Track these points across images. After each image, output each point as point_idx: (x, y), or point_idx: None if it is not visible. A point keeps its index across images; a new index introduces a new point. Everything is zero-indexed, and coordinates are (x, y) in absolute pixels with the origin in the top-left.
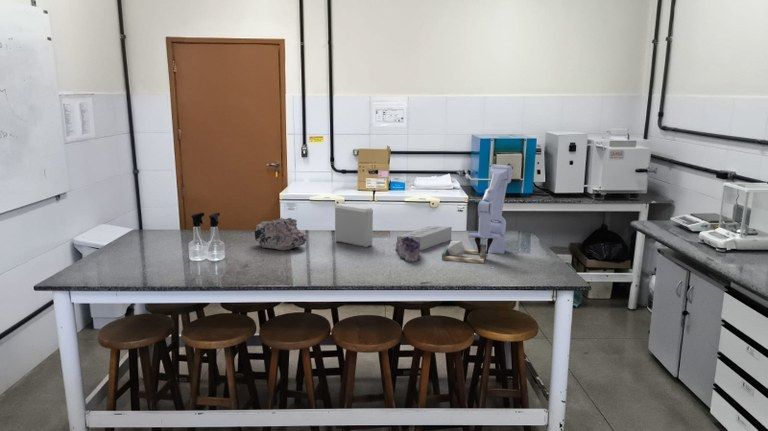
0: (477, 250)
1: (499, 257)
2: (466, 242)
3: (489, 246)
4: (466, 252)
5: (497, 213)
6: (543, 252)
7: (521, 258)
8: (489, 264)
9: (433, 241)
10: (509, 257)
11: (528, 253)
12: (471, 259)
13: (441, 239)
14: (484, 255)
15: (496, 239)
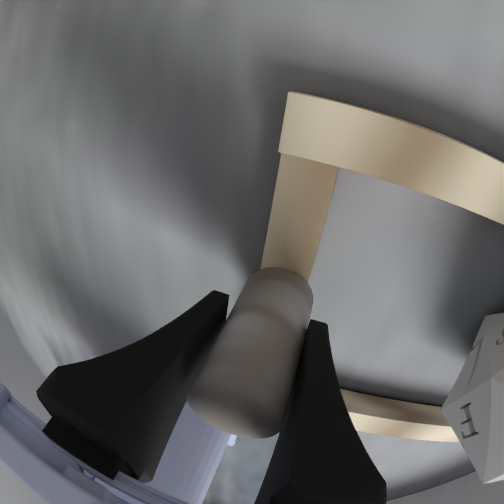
0: None
1: (142, 308)
2: None
3: (137, 342)
4: (393, 406)
5: None
6: (23, 339)
7: (41, 276)
8: (222, 78)
9: (495, 482)
10: (90, 300)
11: (49, 342)
12: (460, 143)
13: (434, 501)
14: (256, 283)
15: (15, 400)
